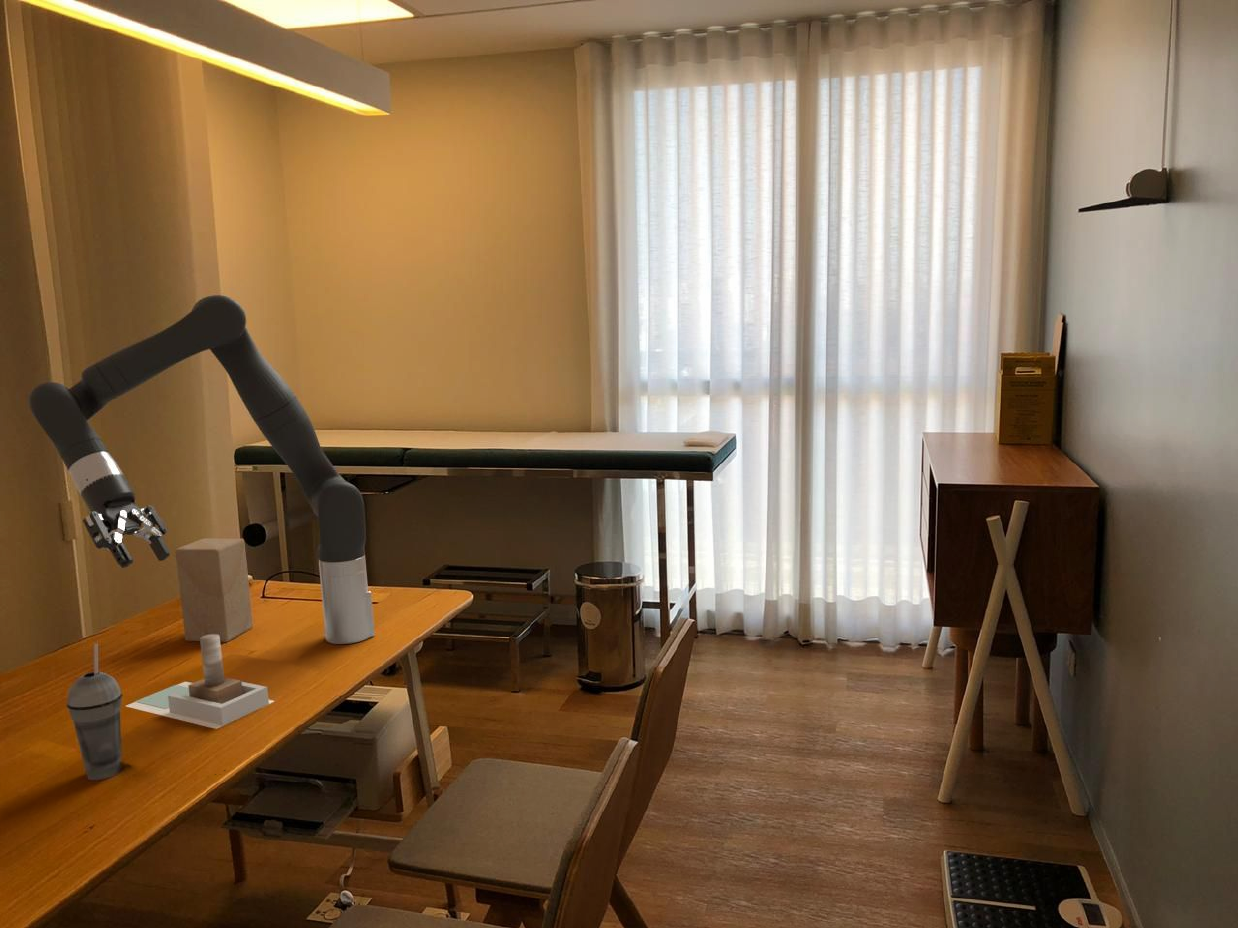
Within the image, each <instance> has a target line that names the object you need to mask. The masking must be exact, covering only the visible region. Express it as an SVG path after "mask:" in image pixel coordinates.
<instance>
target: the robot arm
mask: <svg viewBox="0 0 1238 928" xmlns="http://www.w3.org/2000/svg"><path fill="white" fill-rule="evenodd" d="M246 323H247V316H246V312H245V310H244V308H243V307H242V306H241V303H239V302H238V301H236V300H235V299H233V298H231V297H230V296H226V295H221V294H215V295H208V296H206V297H202V298H201V299H198V301H197V302H196V303H195V304H194V305H193V307H192V308H191V311H190V312H188V313H187V314H186V315H184V316H183V317H182V318H181V319H179V320H178V321H176V322H175V323H174V324H172V325H170V326H169V327H167V328H165V329H163V330H162V331H159V332H158V333H155V334H153V335H151V336H149V337H147V338H145V339H142V340H139V341H137V342H134V343H133V344H131V345H129V346H127V347H124V348H121V349H119V350H118V351H116V352H113V353H112V354H110V355H107V356H106V357H105V358H102V359H101V360H99V361H97V362H95V363H93V364H92V365H90V366H88V367H86V368H85V369H84V370H83V371H82V372H81V379H80V380H79V381H78V382H77V383H75V384H74V385H73V386H72V387H70V388H69V387H67V386H66V385H64V384H61V383H60V382H55V381H54V382H53V381H47V382H43V383H41V384H38V385H37V386H36V387H34V388H33V389H32V391H31V393H30V395H29V399H28V402H29V409H30V410H31V413H32V415H33V416H34V418H35V419H36V421H37V423H38V424H39V425H40V426H41V428H42V430H43V431H44V433H45V434H46V436H48V438H49V439H50V441H51V442H52V444H53V445H54V447H55V449H56V451H57V452H58V455H59V456H60V459H61V461H62V462H63V464H64V465H65V467H66V469H67V471H68V473H69V474H70V477H71V480H72V482H73V484H74V486H75V487H76V490H77V491H78V493H79V495H80V497H81V498H82V500H83V502H84V504H85V505H86V507H87V509H88V510H89V512H90V513H89V514H88V515H87V516H86V517H85V518H83V519H82V522H83V524H84V526H85V528H86V530H87V532H88V534H89V536H90V539H91V540H92V541H93V543H94V546H95V547H96V548H97V549H98V550H100V549H102V548H104V549H106V550H107V551H110V552H111V554H112V556H113V558H114V560H115V561H116V563H117V564H118V565H119V566H120V567H121V568H122V569H124V568H128V567H129V566H131V564H133V563H134V559H133V558H132V556H131V553H130V552H129V551H128V549H127V547H126V545H125V544H124V542H122V539H123V536H125V535H130V536H132V535H134V536H135V537H136V538H138V539H139V538H142V539H144V540H145V541H146V542H148V543H149V546H150V548H151V550H152V551H153V553H154V555H155V557H156V559H157V560H158V561H159V562H161V561H162V562H163V561H165V560H166V559H167V558H168V557H170V549H169V548H168V546H167V544H166V543H165V542H164V539H163V536H164V535H166V534H167V533H168V532H169V530H168V527H166V525H165V522H164V521H163V520H162V519H161V517H160V516H159V514H158V512H157V511H156V508H155V507H154V506H153V505H151V504H148V505H147V506H145V507H144V508H139V507H138V505H137V504H136V503H135V501H136V493H135V492H134V490H133V488H132V487H131V485H130V484H129V482H128V480H127V478H126V476H125V475H124V473H123V471H122V470H121V468H120V466H119V465H118V463H117V462H116V461H115V459H114V458H113V457H112V454H110V453H109V451H108V449H107V447H106V446H105V444H104V442H103V440H102V439H101V437H100V436H99V435H98V433H97V432H96V431H95V430H94V428H93V427H92V426H91V425H90V423H89V422H88V420H90V419H91V418H92V417H94V416H95V415H96V414H97V413H99V412H100V411H101V410H103V409H104V407H105V406H107V404H108V403H110V402H112V401H113V400H116V399H117V398H119V397H120V396H122V395H124V394H126V393H129V392H130V391H131V390H132V391H133V389H136V388H137V387H139V386H141V385H142V384H144V383H146V382H148V381H149V380H151V379H153V378H154V377H156V376H158V375H159V374H161V373H163V372H164V371H166V370H168V369H169V368H171V367H172V366H174V365H176V364H178V363H181V362H182V361H184V360H186V359H188V358H190V357H193V356H195V355H197V354H199V353H202V352H205V351H207V350H210V351H211V353H212V354H213V356H214V357H215V358H216V359H217V360H218V362H219V363H220V364H221V365H222V367H223V368H224V369H225V371H226V373H227V375H228V376H229V378H230V381H231V383H232V384H233V386H234V388H235V390H236V392H237V394H238V396H239V397H240V400H241V401H242V403H243V405H244V407H245V408H246V410H247V411H248V413H249V415H250V417H251V419H252V420H253V421H254V423H255V424H256V426H257V428H258V429H259V430H260V431H261V434H262V435H263V436H264V438H265V440H267V441H268V443H269V444H270V446H271V447H272V449H273V450H274V451H275V452H276V453H277V455H278V456H279V457H280V458H281V460H282V461H283V462H284V464H285V465H286V466H287V467H288V468H289V469H290V471H291V472H292V474H293V475H294V477H295V478H296V480H297V483H298V485H299V486H300V488H301V490H302V491H303V494H304V496H305V497H306V500H307V502H308V504H309V506H310V508H311V510H312V511H313V513H314V515H315V516H316V517H317V518H318V529H319V543H318V544H319V545H318V546H317V557H318V568H319V569H318V570H319V577H320V588H321V589H320V591H321V599H322V601H321V602H322V611H323V622H324V623H323V624H324V633H325V641H326V642H327V643H330V644H335V645H346V644H354V643H358V642H361V641H364V640H366V639H367V640H368V639H369V638H371V637H374V636H375V635H376V634H375V624H374V611H373V599H372V592H371V591H370V590H369V589H368V587H369V586H368V576H367V564H366V553H365V552H366V551H365V546H366V543H367V530H366V528H367V527H366V513H365V511H366V510H365V503H364V499H363V495H362V493H361V491H360V490H359V489H358V488H357V486H355V485H354V484H352V483H350V482H348V481H346V480H345V478H344V477H342V475H341V474H340V473H339V472H338V471H337V470H336V468H335V467H334V466H333V464H332V462H331V461H330V460H329V458H328V457H327V455H326V454H325V452H324V449H322V446H321V445H320V441H319V439H318V436H317V432H316V431H315V429H314V426H313V423H312V421H311V420H310V417H309V415H308V414H307V411H306V410H305V409H304V407H303V405H302V403H301V401H299V399H298V397H297V396H296V395H295V392H293V390H292V389H291V387H290V386H289V385H288V383H287V382H286V381H285V380H284V379H283V377H282V376H281V375H280V374H279V373H278V372H277V371H276V370H275V368H274V367H273V366H272V365H271V364H270V363H269V362H268V361H267V360H266V358H265V357H264V355H262V353H261V352H260V350H259V348H258V347H257V345H256V344H255V342H254V340H253V338H252V336H251V334H250V333H249V329H248V328H247V326H246V325H247V324H246ZM142 525H143V527H142ZM156 526H157V527H158V528H159V529H157V528H156ZM147 532H150V533H147ZM150 534H151V535H150ZM100 536H101V537H100Z"/></svg>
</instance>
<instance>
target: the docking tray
mask: <svg viewBox="0 0 1238 928" xmlns="http://www.w3.org/2000/svg"><path fill="white" fill-rule="evenodd" d="M192 683H193V682H189V681H183V682H181V683H178V684H174V685H172V686H170V687H167V688H165V689H162V690H159V691H157V692H155V693H152V694H150V695H147V696H145V697H143V698H140V699H137V700H135V701H134V702H132V703H129V704H127V705H125V706H124V707H125V708H131V709H134V710H138V711H141V712H146V713H151V714H154V715H158V716H162V717H166V718H170V719H175V720H179V721H183V722H187V723H191V724H195V725H198V726H203V727H207V728H211V729H215V730H217V729H219V728H221V727H223V726H225V725H228V724H230V723H232V722H234V721H236V720H238V719H240V718H242V717H245V716H247V715H249V714H251V713H254V712H255V711H259V709H262V708H264V707H266V706H268V705H270V704H272V703H274V702H276V701H275V700H271V699H269V690H268V686H263V685H259V684H255V683H249V682H244V681H242V690H243V695H241V696H239V697H236V698H234V699H232V700H230V701H227V702H225V703H223V704H220V703H216V702H212V701H207V700H203V699H198V698H194V697H190V696H189V687H188V685H190V684H192Z"/></svg>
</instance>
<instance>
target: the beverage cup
mask: <svg viewBox="0 0 1238 928" xmlns="http://www.w3.org/2000/svg"><path fill="white" fill-rule="evenodd" d="M98 646H99V644H98V643H94V645H93V659H94V660H93V670H94V671H91V672H87V673H85V674H83V675H81V676H79V677H78V678H76V680H74V682H73V683H72V684H71V686H70V688H69V690H68V694H67V702H66V708H67V709H68V712H69V715H70V718H71V720H72V721H73V725H74V728H75V729H74V730H75V733H76V738H77V742H78V746H79V750H80V755H81V757H82V762H83V767H84V770H85V772H86V775H87V779H88V780H89V781H101V780H102V781H103V780H107V779H110V778H112V777H115V776H116V775H118V774H120V772H121V771H122V760H123V759H122V731H121V710H122V709H121V708H122V698H123V693H122V691H121V687H120V686H119V683H118V681H117V680H116V679H115V678H114V677H113V676H111V675H110V674H108V673H105V672H103V671H99V647H98Z"/></svg>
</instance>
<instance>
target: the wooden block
mask: <svg viewBox="0 0 1238 928" xmlns="http://www.w3.org/2000/svg"><path fill="white" fill-rule="evenodd" d="M245 544H246V543H245V540H244V538H223V537H222V538H221V537H220V538H219V537H218V538H217V537H216V538H215V537H213V538H210V537H209V538H208V537H207V538H206V537H205V538H201V539H199V540H196V541H194V542H190V543H188V544H185V545H183V546H181V547H178V548H175V551H174V552H175V561H176V569H177V579H178V587H179V597H180V606H181V614H182V622H183V631H184V639H185V641H187V642H200V638H201V637H203V636H206V635H212V634H217V635H219V636H220V643H228V642H230V641H231V640H233V639H234V638H236V637H238V636H240V635H241V634H242V635H243V634H244V633H245V632H248V631H249V630H251V629H252V628H253V627H254V620H253V613H252V612H253V611H252V601H251V595H250V585H249V584H250V583H249V574H248V573H249V572H248V565H247V556H246V555H247V554H246V545H245Z"/></svg>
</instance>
